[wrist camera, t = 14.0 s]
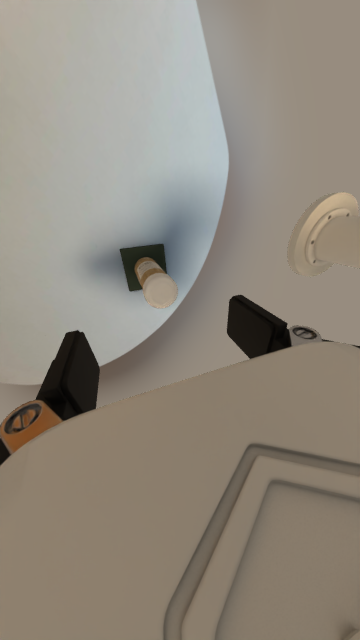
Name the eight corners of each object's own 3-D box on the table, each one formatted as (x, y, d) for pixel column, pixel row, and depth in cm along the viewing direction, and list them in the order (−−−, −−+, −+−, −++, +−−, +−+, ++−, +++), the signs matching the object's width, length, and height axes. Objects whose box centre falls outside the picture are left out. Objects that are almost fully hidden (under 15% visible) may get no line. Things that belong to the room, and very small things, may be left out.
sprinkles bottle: (137, 282, 34) (147, 312, 23) (132, 258, 32) (141, 280, 21) (159, 278, 35) (180, 305, 24) (156, 254, 33) (177, 273, 22)
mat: (162, 243, 33) (163, 244, 32) (167, 284, 37) (167, 284, 37) (119, 249, 31) (119, 249, 31) (129, 290, 35) (129, 291, 35)
